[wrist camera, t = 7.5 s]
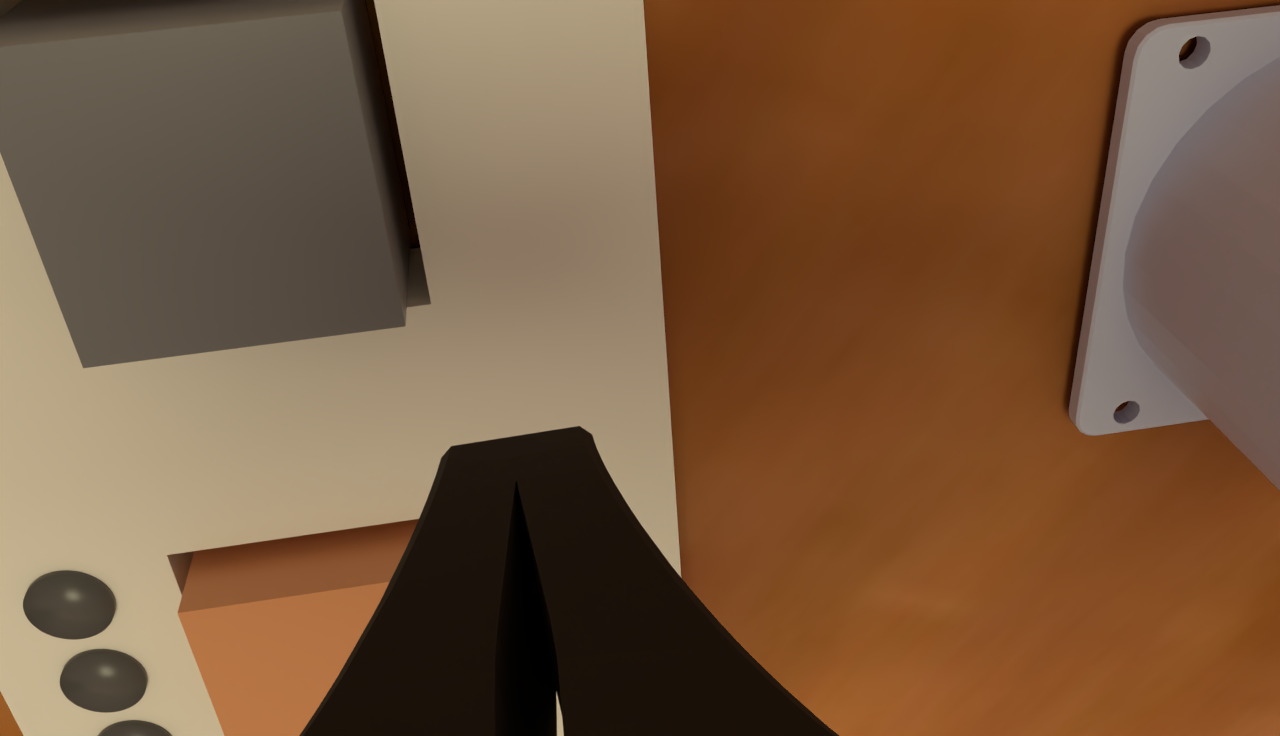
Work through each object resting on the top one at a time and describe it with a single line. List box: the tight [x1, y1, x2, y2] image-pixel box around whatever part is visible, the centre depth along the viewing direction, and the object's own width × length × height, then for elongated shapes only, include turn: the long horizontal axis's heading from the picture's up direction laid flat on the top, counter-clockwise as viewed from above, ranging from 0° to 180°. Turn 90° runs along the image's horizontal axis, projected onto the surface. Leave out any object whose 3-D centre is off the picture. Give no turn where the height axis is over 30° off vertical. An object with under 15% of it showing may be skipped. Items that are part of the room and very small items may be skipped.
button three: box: [177, 519, 419, 736], centre depth 21 cm, size 4×4×3 cm
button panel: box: [0, 0, 681, 736], centre depth 21 cm, size 12×30×2 cm, turn 4°
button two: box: [0, 0, 410, 368], centre depth 16 cm, size 4×4×3 cm
